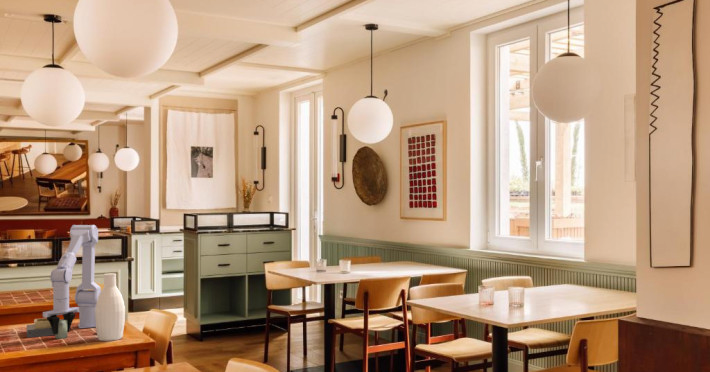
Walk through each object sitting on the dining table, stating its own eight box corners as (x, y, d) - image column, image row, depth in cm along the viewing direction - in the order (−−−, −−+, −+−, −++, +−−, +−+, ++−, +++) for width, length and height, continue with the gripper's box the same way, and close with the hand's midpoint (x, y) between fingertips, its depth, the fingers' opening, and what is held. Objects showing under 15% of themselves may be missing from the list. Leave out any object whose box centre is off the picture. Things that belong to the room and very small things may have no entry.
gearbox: (63, 329, 287) (63, 315, 287) (65, 334, 276) (65, 320, 276) (26, 332, 281) (26, 318, 281) (27, 337, 270) (27, 323, 270)
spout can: (66, 336, 272) (66, 318, 272) (68, 339, 267) (68, 321, 267) (54, 337, 270) (54, 319, 270) (55, 340, 265) (55, 322, 265)
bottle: (107, 342, 259) (107, 276, 260) (89, 339, 265) (88, 274, 266) (131, 337, 269) (131, 273, 269) (113, 334, 275) (112, 271, 275)
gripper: (71, 295, 278) (71, 328, 277) (38, 300, 266) (38, 335, 265) (82, 296, 274) (82, 330, 273) (48, 301, 262) (48, 337, 261)
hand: (61, 333), depth 269 cm, fingers closed on spout can, 4 cm apart
